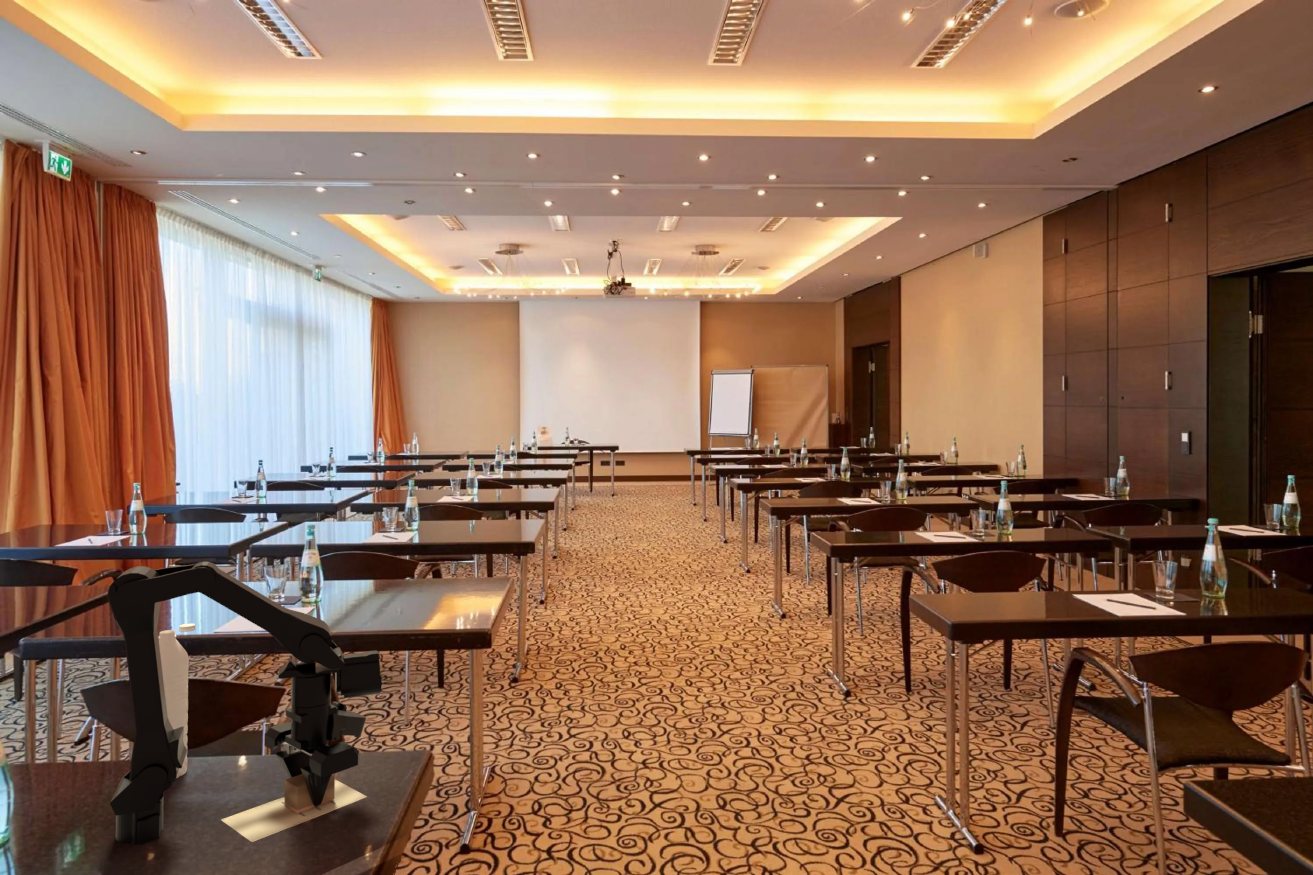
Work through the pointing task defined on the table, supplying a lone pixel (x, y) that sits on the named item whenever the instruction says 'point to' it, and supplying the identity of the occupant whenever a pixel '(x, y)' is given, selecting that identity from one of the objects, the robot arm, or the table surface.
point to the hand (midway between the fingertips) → (310, 800)
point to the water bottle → (176, 681)
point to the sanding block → (304, 794)
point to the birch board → (285, 814)
